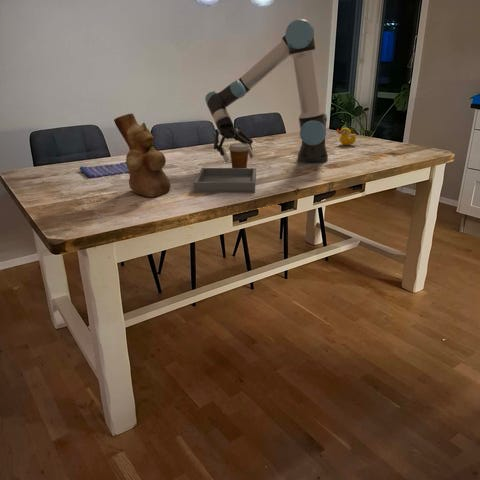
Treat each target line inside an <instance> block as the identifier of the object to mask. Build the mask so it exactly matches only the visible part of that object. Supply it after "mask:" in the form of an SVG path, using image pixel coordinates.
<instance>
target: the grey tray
mask: <svg viewBox="0 0 480 480" xmlns="http://www.w3.org/2000/svg"><path fill="white" fill-rule="evenodd" d="M256 183H257V168H255V167H247V168H232V167H201V168H200V170H199V173H198V174H197V176H196V178H195V179H194V181H193V189H194V190H193V191H194V193H210V194H211V193H212V194H213V193H215V194H216V193H217V194H218V193H220V194H221V193H225V194H226V193H227V194H231V193H233V194H234V193H235V194H240V193H241V194H246V193H247V194H255V193H256Z"/></svg>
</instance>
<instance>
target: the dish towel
mask: <svg viewBox="0 0 480 480" xmlns="http://www.w3.org/2000/svg"><path fill="white" fill-rule="evenodd" d="M78 168H79V170H80V171H82V172H81V173H82V174H83V175H85V177H87V178H88V179H94V177H95V178H101V177H102V176H104V177H109V175H111V176H117V175H116V174H118V175H124V174H123V173H125V174H129V170H128V168H127V165H126V161H125V162H124V161H123V162H120V163H114V164H113V163H112V164H111V163H110V164H103V165H102V164H101V165H95V166H82V165H81V166H80V167H78Z"/></svg>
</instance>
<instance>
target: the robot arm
mask: <svg viewBox="0 0 480 480" xmlns="http://www.w3.org/2000/svg"><path fill="white" fill-rule="evenodd" d="M315 51H316V42H315V29H314V28H313V25H312V24H311V23H310V22H309V20H307V19H305V18H297V19H294V20H292V21H291V22H290V23H289V24H288V26H287V27H286V29H285V32H284V36H282V38H281V40H280V42H279V43H278V44H277V45H276V46H274V47H273V48H272V49H271V50H270V51H268V52H267V54H266V55H264V56H263V57H262V58H261V59H260V60H259V61H258V62H257V63H255V64H254V65H253V66H252V67H251V68H250V69H249V70H247V71H246V72H245V73H244V74H243V75H242V76H240V77H239V78H238V79H236V80H234V81H233V82H231V83H230V84H229V85H227V86H226V87H225V88H223V89H222V90H221V91H217V90H212V91H209V92H208V93H207V94H206V96H205V98H204V100H205V102H206V106H207V109H208V110H209V112H210V114H211V117H212V119H213V122H214V123H215V125H216V128H217V129H216V128H215V130H214V131H213V137H214V139H213V141H214V142H213V149H214V150H217V152H219V155H221V156H222V157H223V158H222V159H223V160H224V162H225V163H228V161H229V160H230V159H229V158H230V157H229V156H228V154H227V151H226V149H225V147H224V146H223V145H224V143H225V140H229V139H234V140H236V141H238V143H244V144H248V145H249V147H250V148H249V151H248V157H249V158H250V160H251V159H253V157H254V156H255V154H254V152H253V146H252V144H253V142H254V140H253V139H252V138H250V137H249V135H248V134H247V133H245V132H244V131H243V129H242V128H241V126H238V127H237V128H235V126H234V123H233V121H232V118H231V116H230V114H229V112H228V110H227V108H228V107H229V106H230V105H232V104H233V103H235V102H236V101H237V100H239V99H242V98H243V97H244V96H246V95H247V93H249V92H250V91H251V90H252V89H254V87H255V86H257V85H258V84H259V83H260V82H261V81H262V80H263V79H265V78H266V77H267V76H268V75H269V74H271V73H272V72H273V71H275V69H276V68H277V67H279V66H280V65H281V64H282V63H284V61H286V60H287V59H288V58H289V57H291V58H292V60H293V65H294V73H295V79H296V87H297V94H298V100H299V105H300V107H299V108H300V115H299V116H298V123H299V124H298V125H299V137H300V139H301V145H300V148H299V151H298V153H297V161H299V162H303V163H312V164H313V163H316V164H319V163H324V162H328V158H329V157H328V151H327V147H326V137H327V136H326V135H327V122H328V116H327V114H326V113H324V112H323V111H322V110H321V109H320V101H319V92H318V87H317V78H316V71H315V70H316V69H315V64H314V55H313V54H314V53H315ZM220 135H221V136H222V137H221V139H220V142H219V136H220Z"/></svg>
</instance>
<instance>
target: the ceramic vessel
mask: <svg viewBox="0 0 480 480" xmlns="http://www.w3.org/2000/svg"><path fill="white" fill-rule="evenodd" d="M113 122H114V125H115V126H116V129H118V131H119V133H120V135H121V137H123V139H124V141H125V143H126V145H127V146H128V149H129V151H128V153H127V154H126V158H125V162H126V165H127V168H128V170H129V173H128V174H129V180H128V185H129V188H130V189H131V190H132V191H133V192H134V194H136V195H138V196H143V197H149V198H156V197H159V196H162V195H165V194H167V193H169V192H170V191H171V190H170V189H171V187H172V186H171V181H170V179H169V177H168V176H167V174H166V173H165V171H164V170H163V168H164V167H165V166H166V157H165V154H164V153H163V152H162V151H159V150H156V148H155V147H154V139H155V138H154V136H153V134H152V133H151V131H150V129H149V128H148V127H147V125H146V123H145V122H142V123H141V124H139V123H138V121H137V118H135V115H134V113H132V112H131V113H126V114H123V115H121V116H117V117H116V118H114V119H113Z"/></svg>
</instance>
